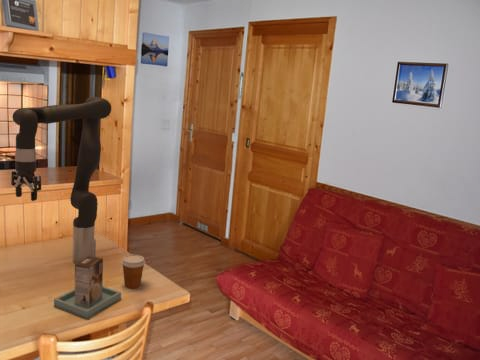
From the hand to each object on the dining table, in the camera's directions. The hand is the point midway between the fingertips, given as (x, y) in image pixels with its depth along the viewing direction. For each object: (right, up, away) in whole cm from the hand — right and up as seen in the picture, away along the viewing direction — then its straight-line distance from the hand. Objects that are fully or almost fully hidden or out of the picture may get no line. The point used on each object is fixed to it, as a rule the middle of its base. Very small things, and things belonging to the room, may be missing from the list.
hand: (26, 198), depth 180 cm
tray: (+29, -39, -12) cm, 50 cm away
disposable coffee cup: (+42, -37, +5) cm, 56 cm away
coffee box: (+29, -38, -12) cm, 50 cm away
